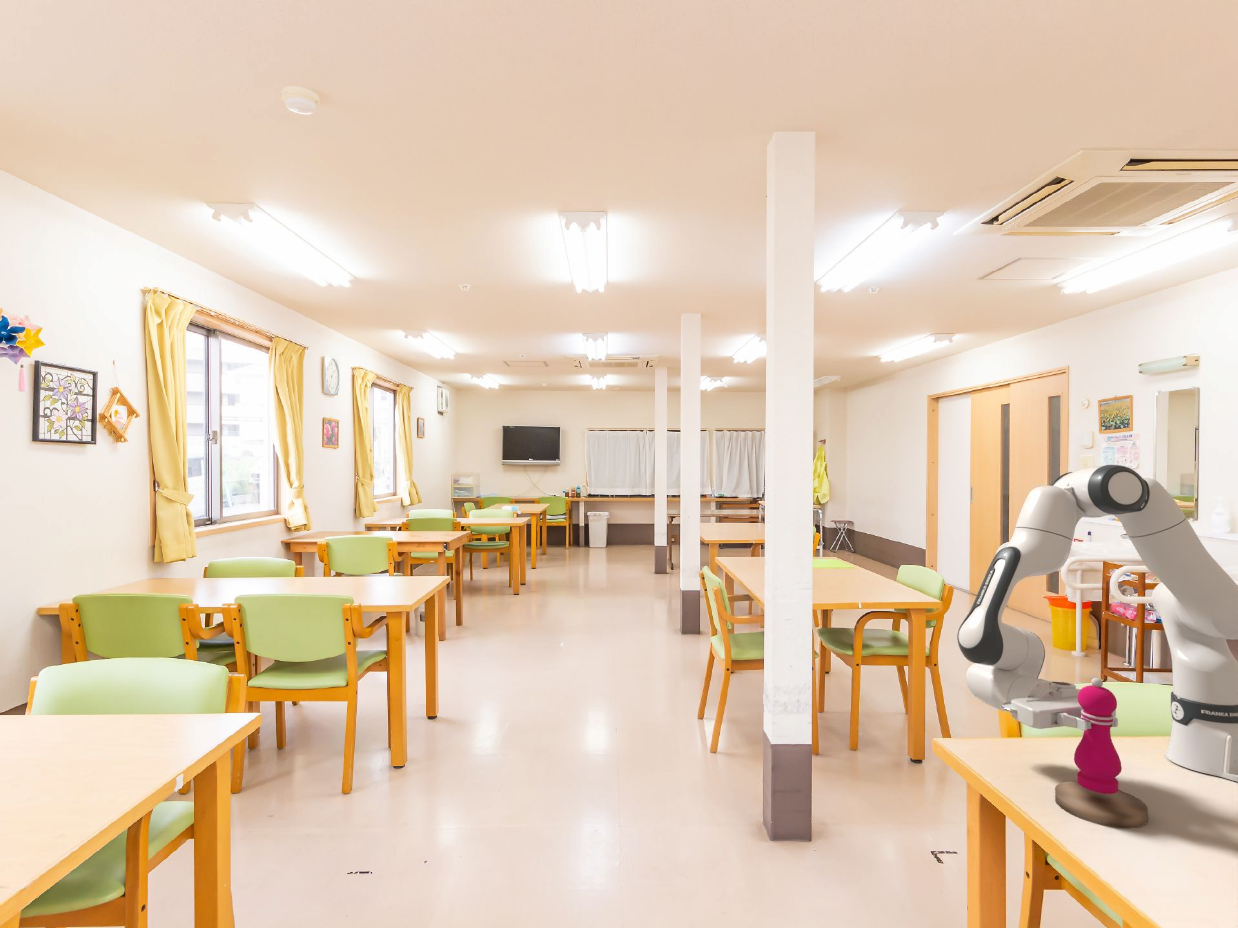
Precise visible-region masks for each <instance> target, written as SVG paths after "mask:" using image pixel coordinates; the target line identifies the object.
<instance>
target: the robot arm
mask: <svg viewBox="0 0 1238 928" xmlns="http://www.w3.org/2000/svg"><path fill="white" fill-rule="evenodd" d="M1112 515H1113V516H1114V517H1115V518H1117V520H1118V521H1120V523H1121V526H1122V527H1123V528H1124V531H1125V534H1127V536H1128V538H1129V541H1130V542H1131V543H1132V545H1133V548H1134V549H1135V550H1136V553H1137V554H1138V556H1139V557H1140V559H1141V560H1142V562H1143V564H1144V566H1145V568H1147V570H1148V571H1150V572H1151V573H1152V574H1153V575H1154V576H1156V577H1157V579H1158V580H1160V582H1159V583H1158V584H1157V585H1156V586H1154V588H1153V590H1152V593H1151V604H1152V606H1153V608H1154V609H1155V611H1156V612H1157V614H1158V616H1159V618H1160V619H1161V623H1162V626H1163V629H1164V634H1165V636H1166V639H1167V643H1168V647H1169V650H1170V656H1171V666H1172V669H1171V670H1172V691H1171V692H1170V714H1171V717H1172V720H1171V721H1172V724H1171V733H1170V736H1169V737H1170V738H1169V741H1168V745H1167V748H1166V751H1165V754H1164V756H1165V758H1166V759H1167V760H1169V761H1170V762H1173V763H1174V764H1176V765H1178V766H1181V767H1183V768H1186V769H1189V770H1192V771H1196V772H1198V773H1203V774H1206V775H1211V776H1215V777H1220V778H1223V779H1227V780H1230V781H1232V782H1237V783H1238V660H1237V659H1236V658H1235V656H1234V655H1233V653H1232V651H1231V650H1230V646H1229V644H1228V642H1227V640H1233V641H1234V640H1238V584H1237V583H1236V581H1234V579H1233V578H1232V577H1231V576H1230V575H1229V574H1228V573H1227V572H1226V570H1224V569H1223V567H1222V566H1221V565H1220V564H1219V563H1218V562H1217V560H1215V559H1214V558H1213V557H1212V555H1211V554H1210V553H1209V552H1208V550H1207V549H1206V547H1205V546H1204V544H1203V543H1202V541H1201V539H1200V538H1199V536H1198V535H1197V533H1196V532H1195V530H1194V528H1193V527H1192V525H1191V523H1190V522H1189V519H1188V518H1187V516H1186V515H1185V514H1184V511H1183V510H1182V509H1181V507H1180V506H1179V504H1178V503H1177V502H1176V500H1175V499H1174V498H1173V497H1172V495H1171V494H1170V493H1169V492H1168V490H1167V489H1166V488H1165V487H1164V486H1163V485H1162V484H1161V483H1160V482H1159V481H1157V480H1156V479H1154V478H1150V477H1142V476H1141V475H1140V474H1139V473H1138V472H1137V471H1135V469H1132V468H1130V467H1127V466H1125V465H1120V464H1119V465H1118V464H1105V465H1101V466H1100V465H1099V466H1098V465H1097V466H1088V467H1084V468H1081V469H1079V470H1076V471H1070V472H1066V473H1063V474H1061V475H1059V476H1058V477H1057V478H1055V479H1054V480H1053V481H1052V482H1051V483H1050V485H1042V486H1041V485H1040V486H1037V487H1035V488H1033V489H1031V490H1030V492H1029V493H1028V494H1027V497H1026V498H1025V501H1024V503H1023V505H1022V507H1021V510H1020V512H1019V515H1018V517H1017V519H1016V523H1015V527H1014V530H1013V534H1012V536H1011V539H1010V540H1009V542H1008V544H1007V545H1006V546H1005V547H1004V548H1001V549H1000V550H998V551H997V552H996V554H995V555H994V556H993V559H992V560H991V562H990V564H989V566H988V569H987V571H986V573H985V575H984V578H983V580H982V583H981V585H980V587H979V590H978V592H977V595H976V597H975V599H974V601H973V603H972V606H971V607H970V609H969V612H968V614H967V615H966V617H965V618H964V620H963V621H962V623H961V625H960V626H959V627H958V630H957V635H956V637H957V639H956V640H957V644H958V647H959V649H960V652H961V653H962V655H963V657H964V658H965V659H966V660H967V661H969V662H971V663H973V664H971V665H970V666H969V667H968V669H967V670H966V675H965V683H966V686H967V688H968V690H969V691H970V693H971V694H972V695H973V696H974V697H975V698H976V699H978V700H980V701H981V702H982V703H985V704H986V705H988V706H990V707H993V708H994V709H997V710H1000V711H1003V712H1008V713H1010V714H1011V718H1013V719H1014V720H1016V721H1018V722H1019V723H1022V724H1023V725H1024V726H1025V725H1026V726H1028V727H1029V728H1032V729H1038V730H1039V729H1040V730H1044V729H1050V728H1051V729H1052V728H1061V727H1066V728H1067V727H1068V728H1074V729H1078V730H1081V731H1083V732H1084V730H1090V729H1091V721H1090V720H1087V719H1085V718H1081V715H1082V713H1081V710H1083V708H1082V707H1081V706H1080V704H1079V703H1078V693H1079V691H1080V690H1081V689H1082V688H1081V689H1080V688H1077V686H1076V685H1075V684H1073V683H1069V682H1064V681H1054V680H1053V681H1052V680H1046V679H1043V678H1039V676H1040V674H1041V672H1042V669H1043V667H1044V663H1045V658H1046V650H1045V646H1044V644H1043V641H1042V640H1041V638H1040V636H1038V635H1037V634H1036V633H1034V632H1033V631H1029V630H1027V629H1023V628H1021V627H1017V626H1013V625H1010V624H1007V623H1004V622H1003V621H1002V617H1003V614H1004V612H1005V610H1006V607H1007V604H1008V603H1009V600H1010V599H1011V598H1010V597H1011V595H1012V593H1013V590H1014V588H1015V586H1016V585H1017V584H1018V583H1019V582H1021V581H1023V579H1026V578H1030V577H1036V576H1046V575H1049V574H1050V575H1051V574H1052V573H1054V572H1057V571H1059V570H1060V569H1061V568H1062V567H1064V566H1065V564H1066V562H1067V561H1068V559H1069V556H1070V553H1071V550H1072V545H1073V540H1074V536H1075V530H1076V527H1077V525H1078V523H1079V522H1080V520H1081V519H1082V518H1090V519H1091V518H1094V519H1095V518H1103V517H1106V516H1112ZM1116 713H1117V709H1116V710H1115V711H1114V712H1112V715H1113V716H1114V718H1113V721H1114V723H1113V724H1111V728H1116V727H1117V728H1118V726H1119V720H1118V719H1119V718H1117V715H1116Z"/></svg>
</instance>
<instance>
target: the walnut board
mask: <svg viewBox="0 0 1238 928" xmlns="http://www.w3.org/2000/svg"><path fill="white" fill-rule="evenodd" d="M1054 798H1055V804H1056V805H1057V806H1058V805H1059V806H1060V807H1059V806H1058V807H1059V808H1060V809H1062V810H1063V809H1064V810H1063V811H1065V812H1066V813H1068V814H1070V815H1072V816H1074V817H1077V818H1079V819H1082V820H1084V821H1087V822H1091V823H1094V824H1097V825H1103V826H1108V827H1113V828H1119V829H1120V828H1121V829H1122V828H1123V829H1134V828H1140V827H1144V826H1146V825H1147V824H1149V823H1148V822H1149V807H1148V805H1147V804H1146V803H1145V802H1144V801H1143V800H1141V799H1140V798H1139V797H1137V796H1135V795H1133V794H1131V793H1129V792H1126V791H1124V790H1121V789H1119V788H1118V792H1117V793H1114V794H1104V793H1098V792H1094V791H1091V790H1088V789H1086V788H1083V787H1082V786H1080V785H1079V784H1078V782H1077V781H1076V780H1075V781H1063V782H1060V783H1058V784H1056V785H1055V788H1054Z"/></svg>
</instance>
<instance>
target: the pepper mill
mask: <svg viewBox="0 0 1238 928" xmlns="http://www.w3.org/2000/svg"><path fill="white" fill-rule="evenodd" d="M1090 683H1091V685H1086V686H1084V687H1082V688H1081V690H1080V691H1079V693H1078V703H1079V704H1080V706H1081V707H1082V708H1083V710H1081V713H1082V715H1081V718H1085V719H1087V720H1090V721H1091V729H1090V730H1084V731H1083V733H1082V734H1083V735H1082V738H1081V740H1080V741H1079V743H1078V745H1077V746H1076V748H1075V751H1074V756H1073V761H1074V764H1075V766H1076V767H1077V768H1078V770H1079V771H1077V774H1076V776H1077V778H1076V780H1077V782H1078V784H1079V785H1080V786H1082V787H1083V788H1086V789H1088V790H1091V791H1094V792H1098V793H1104V794H1114V793H1117V792H1118V789H1119V780H1118V779H1117V778H1116V777H1117V776H1119V775H1120V774H1121V772H1122V770H1123V769H1122V761H1121V759H1120V756H1119V753H1118V751H1117V750H1116V748H1115V746H1114V744H1113V741H1112V736H1111V728H1112V727H1111V724H1113V723H1114V721H1113V718H1114V716H1113V715H1112V712H1114V711H1115V710H1116V711H1117V707H1118V700H1117V698H1116V696H1115V694H1114V693H1113V692H1112V691H1111V690H1110V689H1109V688H1105V687H1104V686H1103V684H1104V683H1103V680H1102V679H1100V678H1098V677H1094V678H1092V679H1091V681H1090Z"/></svg>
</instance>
